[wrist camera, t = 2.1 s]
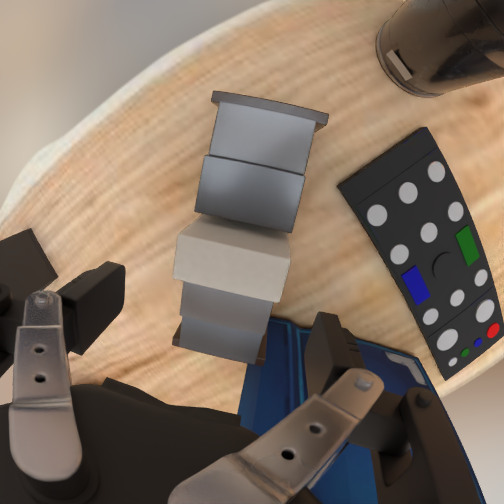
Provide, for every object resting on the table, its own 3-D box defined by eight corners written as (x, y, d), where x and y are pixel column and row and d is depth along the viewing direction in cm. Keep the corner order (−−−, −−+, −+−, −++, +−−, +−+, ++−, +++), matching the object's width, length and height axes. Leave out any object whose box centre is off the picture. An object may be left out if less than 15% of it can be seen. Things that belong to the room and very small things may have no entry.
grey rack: (233, 110, 27) (206, 83, 16) (312, 127, 27) (334, 109, 16) (198, 294, 33) (164, 359, 22) (267, 310, 33) (261, 382, 22)
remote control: (441, 374, 35) (446, 383, 33) (336, 186, 29) (340, 188, 27) (500, 328, 32) (507, 335, 30) (420, 127, 26) (429, 126, 24)
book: (238, 352, 35) (195, 558, 12) (258, 303, 33) (225, 537, 9) (390, 393, 36) (440, 552, 12) (418, 353, 34) (499, 515, 10)
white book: (222, 197, 29) (177, 233, 16) (284, 211, 29) (291, 259, 16) (217, 223, 30) (171, 278, 17) (278, 237, 30) (279, 304, 17)
